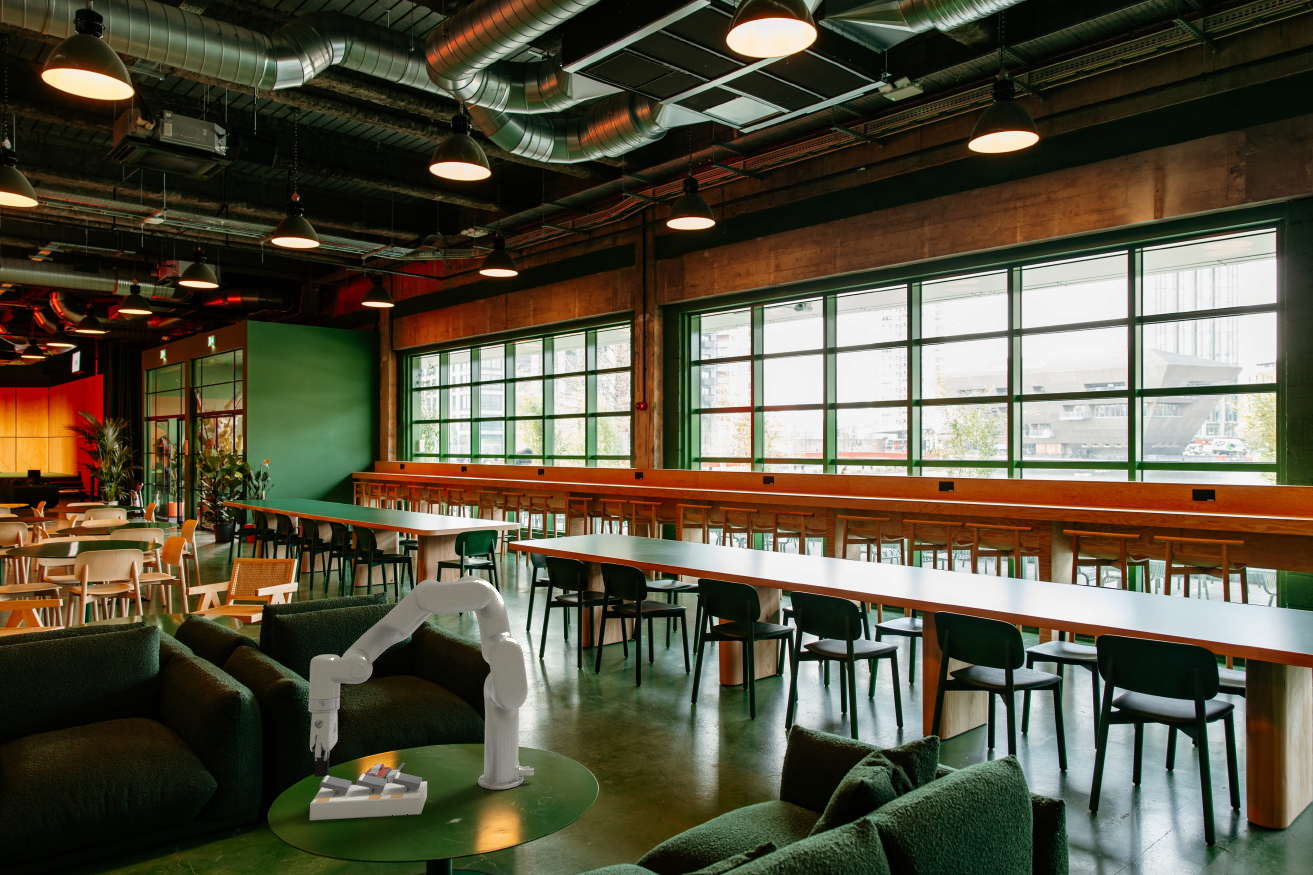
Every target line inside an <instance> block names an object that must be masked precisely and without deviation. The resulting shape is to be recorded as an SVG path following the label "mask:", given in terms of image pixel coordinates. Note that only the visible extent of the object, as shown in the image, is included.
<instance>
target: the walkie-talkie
mask: <svg viewBox="0 0 1313 875" xmlns="http://www.w3.org/2000/svg"><path fill="white" fill-rule="evenodd" d="M405 765H406V762H402V763H401V764H400V765H399V766H398V767H397V768H396V769H393V768H392V767H390V766H385V765H384V763H376V764H374V765H373V766H372V767H370V768H369V769H368V770H367V771H366V772H365V773H364V774H365V775H370V776H374V777H379V778H384V779H387V783H390V782H391V783H392V782H393V778H394V776H395V774H396V772H401V770H402V769H403V768H404V766H405Z"/></svg>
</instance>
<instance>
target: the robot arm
mask: <svg viewBox="0 0 1313 875" xmlns="http://www.w3.org/2000/svg"><path fill="white" fill-rule="evenodd" d="M501 595H502V594H500V592H499V591H498V590H497V589H496V587H495V586H493V584H491V583H490V582H488V581H487V580H486V579H483V578H481V577H479V576H474V575H465V576H462V577H460V578H459V579H458V580H457V581H445V582H443V581H442V582H441V581H440V582H439V581H438V580H435V579H430V578H429V579H424V580H422V581H421V582H419V583H418V584H417V585H415V587H413V588H412V589H411V590H410V592H408V594H407V595H405V596H404V597H403V598H402V599H401V600H400V601H399V602H398V603H397V604H396V605H395V606H394V607H393V608H392V609H391V610H390V611H389V612H388V613H387V614H386V615H385V616H383V618H381V619H380V620H378V622H376V623H375V624H373V625H372V626H371V627H370V628H369V629H368V630H367V631H366V632H364V633H363V634H362V635H361V636H360V637H359V638H358V639H357V640H356V641H355V642H354V643H353V644H351V646H350V647H349V648H348V649H347V650H345V652H344V653H343V655H342V657H340V656H339V655H338V654H329V653H327V654H319V655H317V656H313V657H312V659H311V660H310V663H309V664H310V665H309V686H308V687H309V689H308V690H309V693H308V712H310V713H312V714H311V722H310V734H309V736H310V737H309V749H310V751H311V752H312V753H314V774H313V776H314V777H315V778H319V777H320V778H321V777H323V778H324V777H325V776H327V775H328V776H329V773H330V753H331V752H330V751H331V750H332V749H333V748H334V746H335V745H336V744H337V742H338V739H339V738H338V737H339V735H338V734H339V733H338V729H339V728H338V726H339V725H338V723H339V722H338V720H339V719H338V711H339V709H340V707H341V706H340V703H341V701H340V700H341V684H350V685H357V684H362V683H364V682H366V681H368V679H369V678H370V677H371V675H372V673H373V669H374V668H373V662H374V661H376V659H378V657H379V656H380V655H382V653H384V652H385V651H386V650H387V649H389V648H390V647H392V646H393V645H395V644H397V643H400V642H402V641H404V640H406V639H407V638H409V637H410V636H411V635H412V634H413V633H414V632H415V631H416V630H417V629H418V628H419V627H420V626H421V625H422V624H423V623H424V622H425V621H426V620H427V619H428V618H429V617H430V616H431V615H442V614H443V615H444V614H446V615H447V614H457V613H467V612H469V613H470V612H474V613H475V616H476V619H477V624H478V631H479V637H480V648H481V655H482V658H483V660H484V661H485V662H486V663H488V665H489V668H490V669H489V670H490V672H489V673H488V675H487V676H486V678H485V680H484V685H483V697H484V712H485V713H484V716H485V717H484V719H485V720H484V759H483V760H484V761H483V762H484V763H483V770H484V771H483V774H482V775H480V776H479V777H478V781H477V782H478V785H479V786H480V787H481V788H484V789H487V790H506V789H508V790H509V789H512V788H515V787H518V786H519V785H520V786H521V785H522V783H523V782H524V776H534V775H535V768H534V767H531V766H522V765H520V761H519V746H520V744H519V737H520V736H519V734H520V731H519V730H520V729H519V728H520V708H521V707H522V706H523V705H524V704H525V702H526V700H527V697H528V692H529V688H528V678H527V672H526V665H525V657H524V652H523V649H522V647H521V645H520V643H519V642H518V640H516V638H514V637H513V636H512V632H511V627H510V622H509V617H508V611H507V607H506V604H505V603H506V602H505V601H504V598H503V597H502V596H501Z"/></svg>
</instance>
